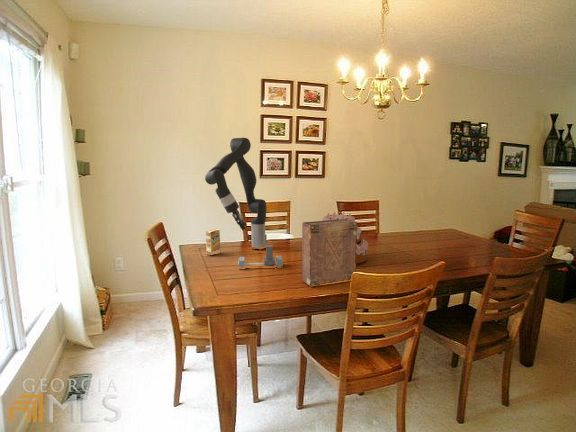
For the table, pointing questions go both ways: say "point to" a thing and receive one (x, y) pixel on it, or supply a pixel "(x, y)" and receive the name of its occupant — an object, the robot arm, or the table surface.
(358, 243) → the cake
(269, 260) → the block
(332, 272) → the book
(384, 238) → the table surface
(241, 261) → the rail
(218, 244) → the candy box
